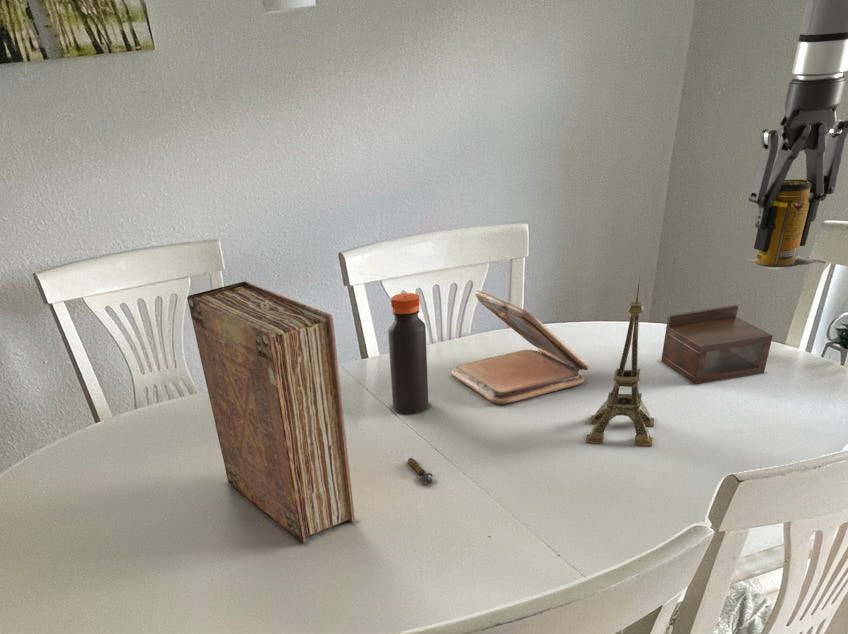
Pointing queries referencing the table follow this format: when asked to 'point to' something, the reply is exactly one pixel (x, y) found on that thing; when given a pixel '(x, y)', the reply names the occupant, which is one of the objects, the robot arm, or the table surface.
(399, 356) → the vinegar
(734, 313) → the box
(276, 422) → the book
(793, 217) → the condiment
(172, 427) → the table surface
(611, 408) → the eiffel tower
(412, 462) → the can opener
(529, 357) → the case
